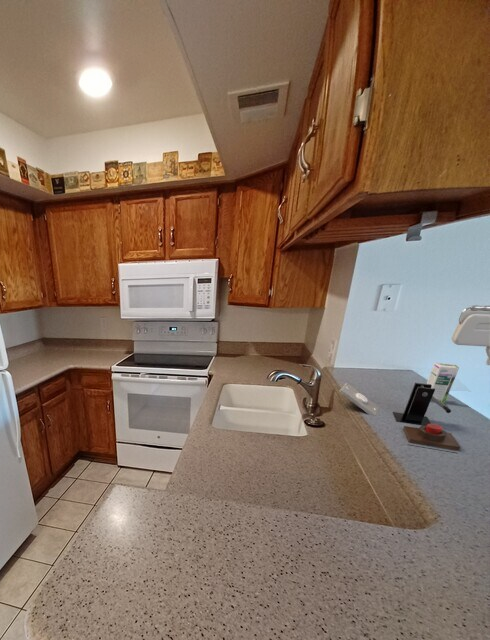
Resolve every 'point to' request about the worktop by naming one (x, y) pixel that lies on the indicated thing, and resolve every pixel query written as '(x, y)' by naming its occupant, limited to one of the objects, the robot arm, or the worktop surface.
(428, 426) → the button
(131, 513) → the worktop surface
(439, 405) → the switch lever
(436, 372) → the syrup box
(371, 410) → the light switch
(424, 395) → the bracket
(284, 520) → the worktop surface
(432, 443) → the button box
